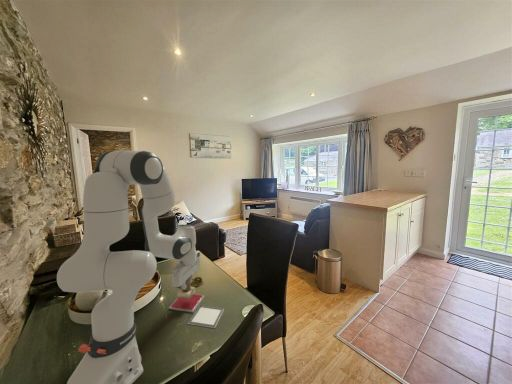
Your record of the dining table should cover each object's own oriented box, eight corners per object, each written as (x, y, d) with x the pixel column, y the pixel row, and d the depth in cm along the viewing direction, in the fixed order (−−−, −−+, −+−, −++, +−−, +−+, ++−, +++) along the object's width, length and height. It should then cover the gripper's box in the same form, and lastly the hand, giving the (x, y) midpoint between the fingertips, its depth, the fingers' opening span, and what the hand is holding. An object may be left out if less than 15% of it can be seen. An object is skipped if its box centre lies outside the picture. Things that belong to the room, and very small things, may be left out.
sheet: (214, 328, 88) (214, 327, 88) (187, 323, 90) (187, 322, 90) (224, 309, 100) (224, 308, 100) (200, 306, 102) (200, 305, 102)
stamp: (189, 299, 99) (189, 280, 99) (177, 297, 100) (177, 279, 100) (195, 292, 105) (195, 274, 104) (183, 290, 106) (183, 273, 106)
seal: (174, 291, 115) (202, 289, 117) (173, 283, 114) (202, 282, 116) (177, 280, 124) (204, 279, 126) (177, 273, 123) (204, 272, 125)
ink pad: (193, 312, 97) (193, 310, 97) (169, 309, 99) (169, 306, 99) (204, 297, 109) (204, 294, 109) (182, 294, 111) (182, 292, 111)
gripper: (181, 268, 90) (181, 299, 92) (201, 250, 110) (202, 276, 112) (167, 266, 92) (168, 297, 93) (190, 250, 112) (190, 275, 113)
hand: (186, 285), depth 102 cm, fingers closed on stamp, 4 cm apart
